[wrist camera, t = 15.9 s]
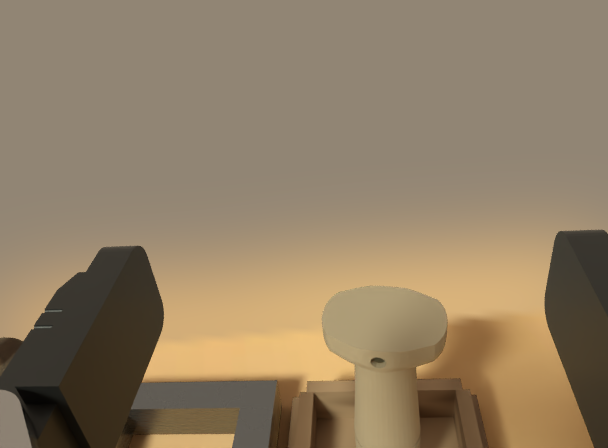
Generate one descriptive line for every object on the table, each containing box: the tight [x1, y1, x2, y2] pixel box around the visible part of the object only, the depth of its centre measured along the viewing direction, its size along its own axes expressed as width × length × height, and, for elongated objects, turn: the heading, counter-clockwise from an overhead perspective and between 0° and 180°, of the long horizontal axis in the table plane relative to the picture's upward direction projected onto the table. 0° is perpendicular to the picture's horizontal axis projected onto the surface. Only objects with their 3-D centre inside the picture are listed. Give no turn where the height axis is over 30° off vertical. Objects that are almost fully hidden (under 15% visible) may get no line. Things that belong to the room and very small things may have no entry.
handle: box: [322, 286, 447, 448], centre depth 33 cm, size 5×6×15 cm
